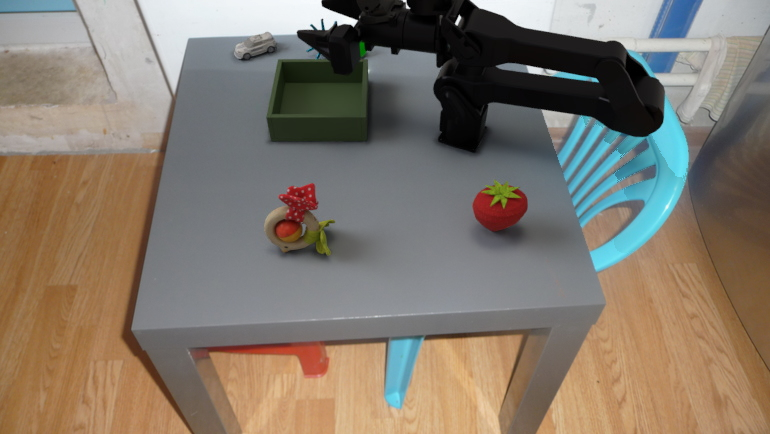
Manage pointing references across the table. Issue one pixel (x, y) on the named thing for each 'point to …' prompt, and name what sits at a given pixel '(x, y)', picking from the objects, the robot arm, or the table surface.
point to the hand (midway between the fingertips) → (310, 17)
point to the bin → (318, 102)
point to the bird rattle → (297, 221)
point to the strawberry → (499, 206)
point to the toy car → (255, 46)
